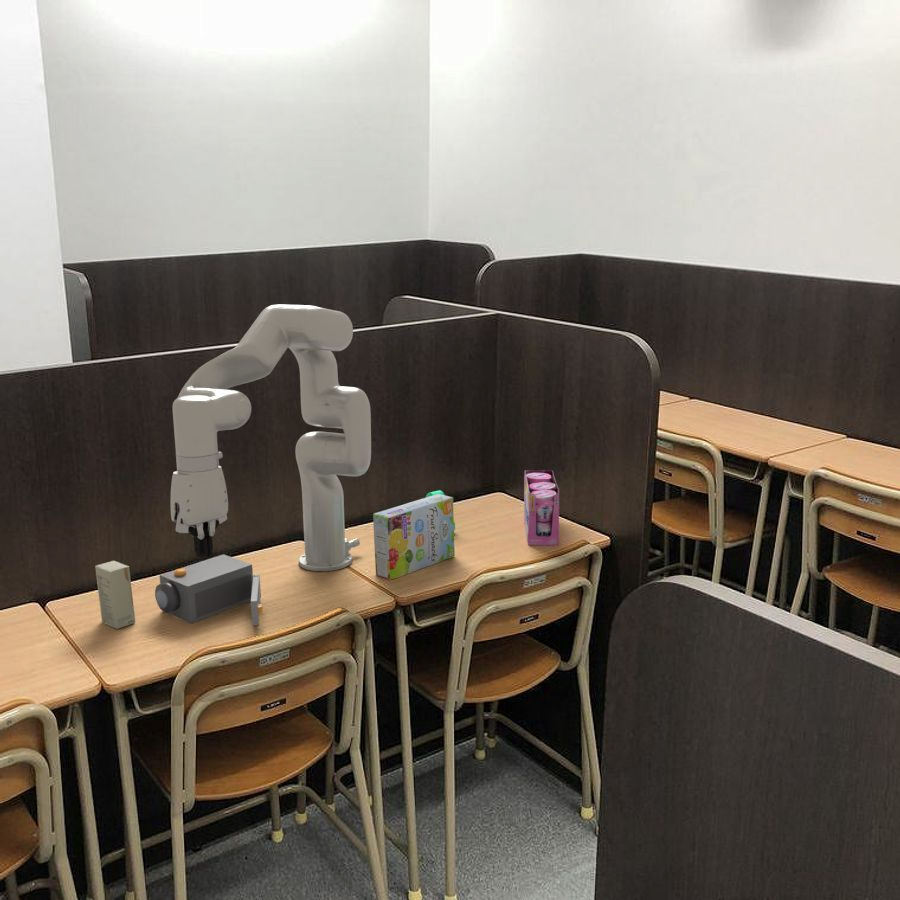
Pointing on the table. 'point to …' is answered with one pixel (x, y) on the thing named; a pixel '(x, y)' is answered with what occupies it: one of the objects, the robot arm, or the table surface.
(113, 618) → the skincare box
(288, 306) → the robot arm
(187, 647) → the table surface
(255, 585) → the side door
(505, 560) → the table surface
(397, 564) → the snack box
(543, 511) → the gum box
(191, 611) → the camera body
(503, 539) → the table surface
